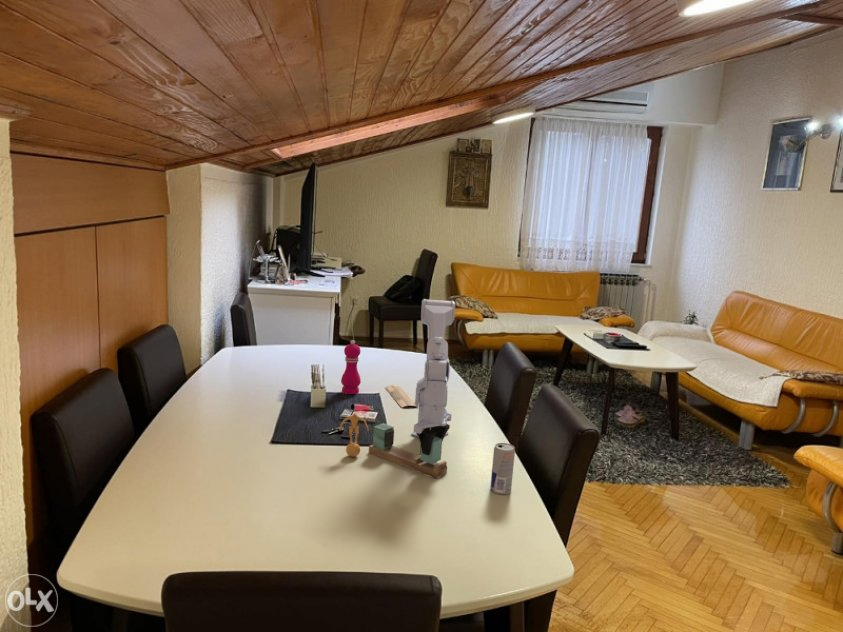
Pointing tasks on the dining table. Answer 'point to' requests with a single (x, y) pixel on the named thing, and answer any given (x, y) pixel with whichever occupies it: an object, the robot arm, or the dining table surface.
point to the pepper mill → (351, 369)
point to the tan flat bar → (400, 396)
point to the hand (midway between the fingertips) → (430, 451)
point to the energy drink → (502, 468)
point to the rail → (402, 453)
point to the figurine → (354, 448)
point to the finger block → (433, 451)
